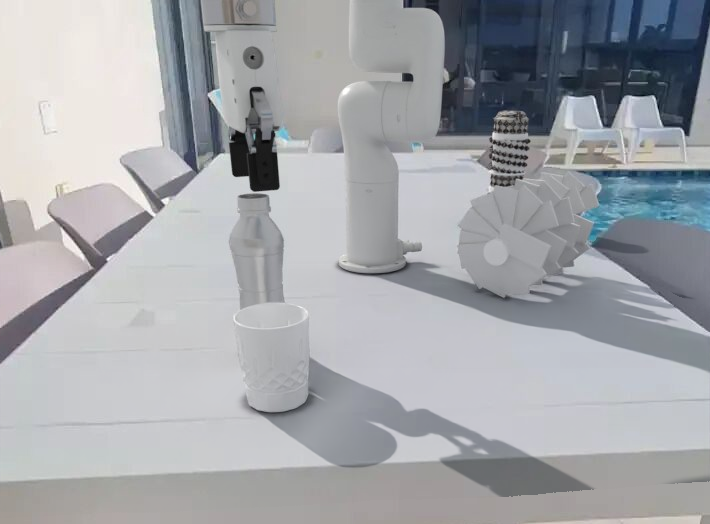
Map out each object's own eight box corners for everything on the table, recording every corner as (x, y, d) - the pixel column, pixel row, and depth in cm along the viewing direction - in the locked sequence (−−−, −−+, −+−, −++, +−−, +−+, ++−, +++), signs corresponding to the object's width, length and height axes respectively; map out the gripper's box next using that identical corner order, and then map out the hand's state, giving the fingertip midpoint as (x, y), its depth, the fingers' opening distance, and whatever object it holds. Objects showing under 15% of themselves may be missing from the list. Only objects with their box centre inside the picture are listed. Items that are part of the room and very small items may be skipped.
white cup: (324, 388, 74) (321, 307, 69) (293, 421, 67) (287, 333, 63) (264, 378, 76) (257, 299, 72) (228, 408, 69) (218, 323, 65)
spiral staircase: (467, 318, 106) (529, 274, 124) (564, 293, 94) (617, 249, 112) (427, 213, 102) (496, 184, 120) (522, 174, 90) (584, 148, 109)
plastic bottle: (282, 364, 79) (270, 202, 71) (231, 359, 81) (214, 199, 72) (299, 344, 85) (290, 192, 77) (252, 340, 86) (237, 190, 78)
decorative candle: (513, 229, 146) (523, 113, 136) (477, 224, 151) (484, 111, 140) (528, 222, 153) (539, 111, 143) (493, 217, 158) (501, 109, 147)
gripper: (297, 13, 61) (308, 193, 69) (255, 20, 75) (268, 169, 83) (218, 11, 58) (238, 200, 66) (190, 19, 73) (209, 173, 80)
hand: (255, 182), depth 74 cm, fingers open, 9 cm apart
